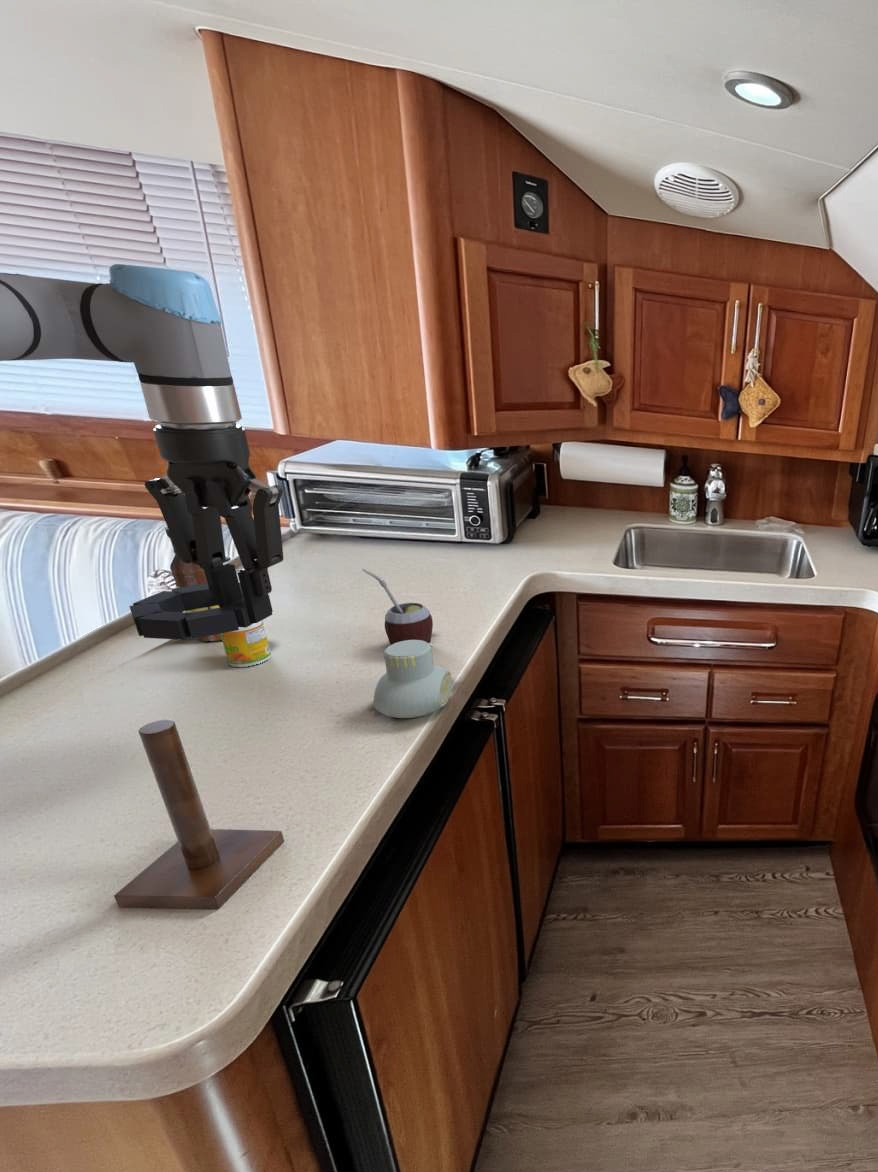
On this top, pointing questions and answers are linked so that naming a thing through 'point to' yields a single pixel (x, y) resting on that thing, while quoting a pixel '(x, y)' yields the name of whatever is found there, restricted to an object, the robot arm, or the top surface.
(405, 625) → the mate gourd
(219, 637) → the sauce bottle
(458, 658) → the top surface
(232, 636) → the supplement bottle
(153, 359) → the robot arm
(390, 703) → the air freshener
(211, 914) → the top surface
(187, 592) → the ring
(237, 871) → the stand
